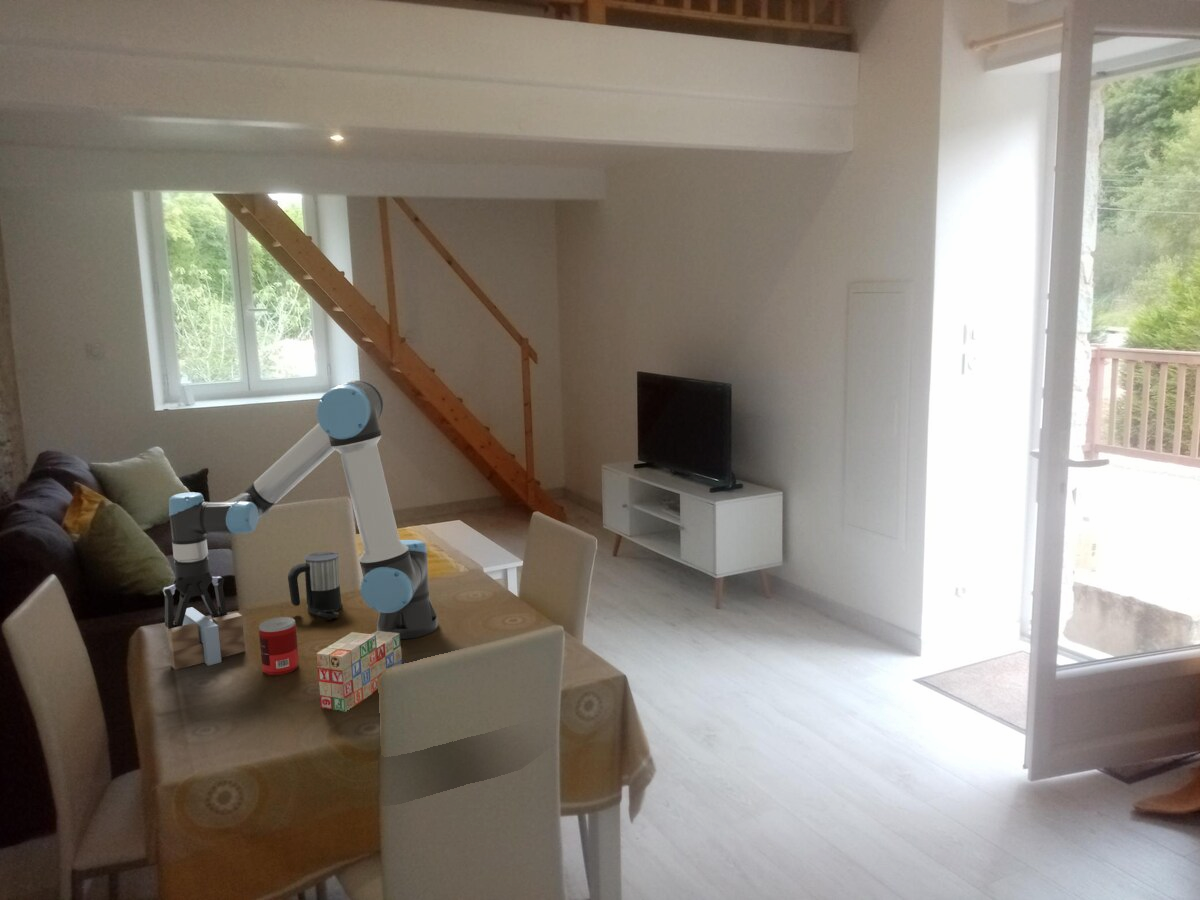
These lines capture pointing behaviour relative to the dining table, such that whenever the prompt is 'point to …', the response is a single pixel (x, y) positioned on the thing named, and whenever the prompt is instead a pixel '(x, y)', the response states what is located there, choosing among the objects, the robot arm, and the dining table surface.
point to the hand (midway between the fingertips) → (199, 650)
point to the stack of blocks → (355, 667)
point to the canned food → (278, 645)
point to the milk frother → (318, 584)
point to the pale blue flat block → (205, 635)
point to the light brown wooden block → (191, 650)
